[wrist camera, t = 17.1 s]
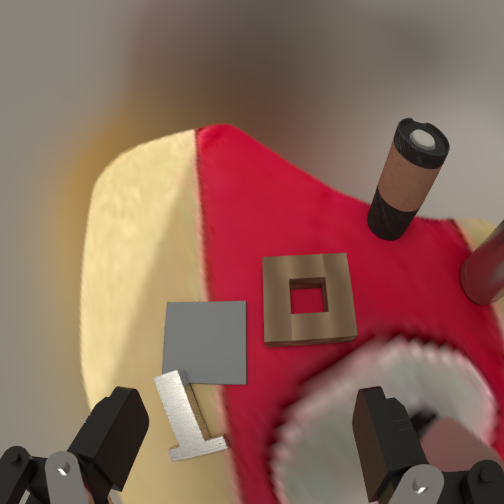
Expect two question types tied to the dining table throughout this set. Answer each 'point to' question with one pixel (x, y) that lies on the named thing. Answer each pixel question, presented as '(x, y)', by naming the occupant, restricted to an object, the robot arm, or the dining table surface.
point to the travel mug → (406, 177)
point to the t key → (186, 418)
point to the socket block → (301, 277)
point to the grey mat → (206, 341)
